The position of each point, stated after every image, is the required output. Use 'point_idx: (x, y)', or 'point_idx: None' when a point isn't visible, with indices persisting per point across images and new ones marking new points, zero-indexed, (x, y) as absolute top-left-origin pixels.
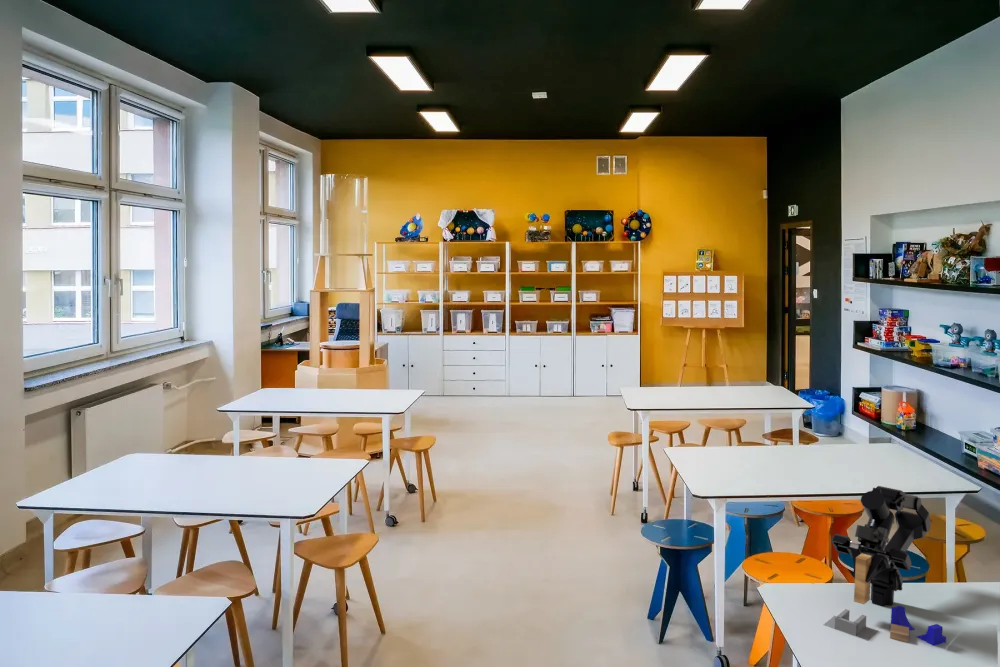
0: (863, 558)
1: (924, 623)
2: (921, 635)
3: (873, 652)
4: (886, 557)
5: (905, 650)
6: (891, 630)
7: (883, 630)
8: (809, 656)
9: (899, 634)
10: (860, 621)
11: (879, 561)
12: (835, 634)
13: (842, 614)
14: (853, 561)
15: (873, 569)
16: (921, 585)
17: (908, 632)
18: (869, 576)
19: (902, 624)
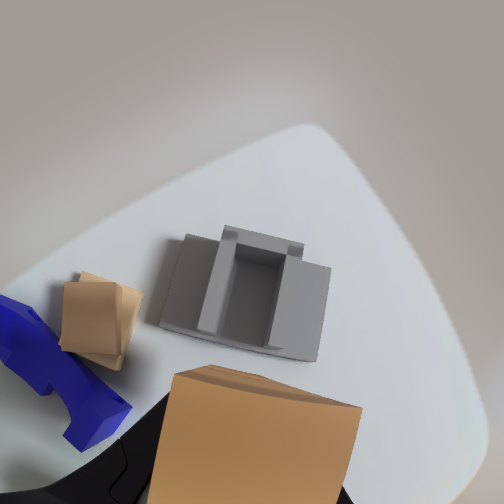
0: (228, 443)
1: None
2: (42, 356)
3: (171, 213)
4: None
5: None
6: (110, 292)
7: (151, 383)
8: (310, 127)
9: (89, 283)
10: (213, 267)
11: (32, 491)
12: None
13: (286, 286)
14: (349, 501)
15: (120, 439)
16: None
17: (63, 306)
18: (166, 396)
19: (85, 389)
